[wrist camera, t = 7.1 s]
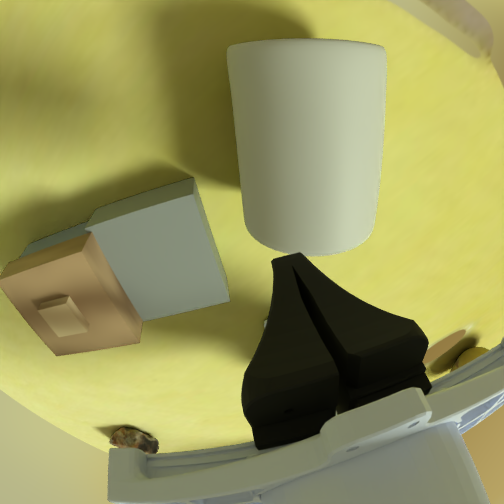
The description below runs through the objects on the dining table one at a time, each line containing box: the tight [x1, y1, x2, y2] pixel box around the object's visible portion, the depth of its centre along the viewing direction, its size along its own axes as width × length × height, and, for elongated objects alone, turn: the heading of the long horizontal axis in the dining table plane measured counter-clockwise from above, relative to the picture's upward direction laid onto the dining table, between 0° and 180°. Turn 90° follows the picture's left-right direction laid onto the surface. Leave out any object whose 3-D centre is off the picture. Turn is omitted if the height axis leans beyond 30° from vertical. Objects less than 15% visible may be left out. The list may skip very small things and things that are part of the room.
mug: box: [227, 38, 387, 256], centre depth 17 cm, size 12×8×11 cm
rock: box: [109, 427, 159, 454], centre depth 42 cm, size 9×6×10 cm
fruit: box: [450, 347, 489, 372], centre depth 43 cm, size 11×12×10 cm
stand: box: [84, 177, 230, 321], centre depth 23 cm, size 10×8×3 cm
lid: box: [0, 232, 143, 356], centre depth 20 cm, size 9×9×3 cm
